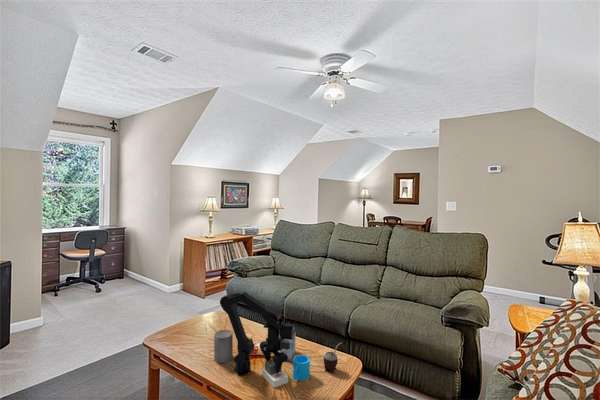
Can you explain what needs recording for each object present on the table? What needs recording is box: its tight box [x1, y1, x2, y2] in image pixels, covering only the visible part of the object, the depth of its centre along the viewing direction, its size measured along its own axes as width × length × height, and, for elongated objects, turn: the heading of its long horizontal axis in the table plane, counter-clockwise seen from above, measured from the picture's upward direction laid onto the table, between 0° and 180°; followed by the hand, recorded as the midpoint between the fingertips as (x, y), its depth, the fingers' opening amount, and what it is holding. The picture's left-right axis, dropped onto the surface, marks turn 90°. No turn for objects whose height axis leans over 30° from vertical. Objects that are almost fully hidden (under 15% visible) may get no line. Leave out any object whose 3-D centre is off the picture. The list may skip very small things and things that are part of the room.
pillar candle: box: [213, 329, 234, 364], centre depth 169 cm, size 10×10×15 cm
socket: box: [261, 367, 289, 389], centre depth 151 cm, size 8×12×4 cm, turn 33°
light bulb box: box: [279, 331, 297, 360], centre depth 175 cm, size 11×7×11 cm, turn 168°
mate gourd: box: [323, 342, 343, 374], centre depth 160 cm, size 8×8×15 cm
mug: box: [292, 354, 311, 381], centre depth 152 cm, size 12×8×8 cm
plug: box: [264, 358, 283, 375], centre depth 153 cm, size 6×6×7 cm
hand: (272, 368), depth 153 cm, fingers open, 9 cm apart
